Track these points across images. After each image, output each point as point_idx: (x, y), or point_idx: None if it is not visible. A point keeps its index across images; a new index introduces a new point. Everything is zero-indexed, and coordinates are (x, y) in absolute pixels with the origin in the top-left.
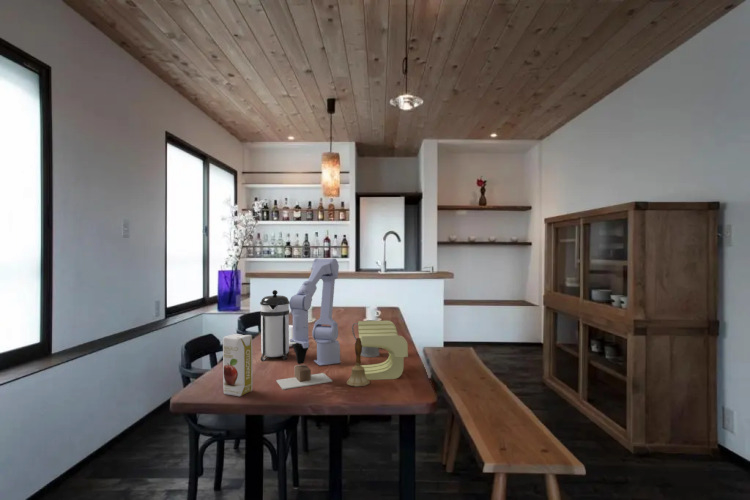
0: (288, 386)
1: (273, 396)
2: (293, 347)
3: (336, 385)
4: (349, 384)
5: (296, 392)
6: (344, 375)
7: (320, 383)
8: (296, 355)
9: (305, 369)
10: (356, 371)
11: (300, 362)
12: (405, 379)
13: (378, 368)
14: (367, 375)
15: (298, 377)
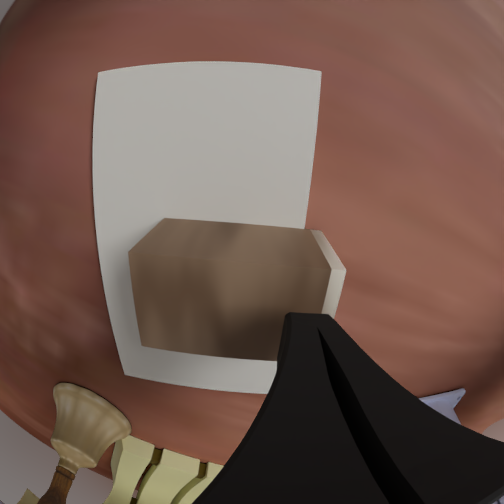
0: (114, 113)
1: (49, 26)
2: (457, 467)
3: (75, 355)
4: (65, 385)
5: (34, 149)
6: (197, 430)
7: (112, 318)
8: (346, 376)
9: (153, 314)
10: (52, 435)
11: (282, 341)
12: (103, 466)
13: (157, 485)
14: (120, 451)
15: (197, 228)
